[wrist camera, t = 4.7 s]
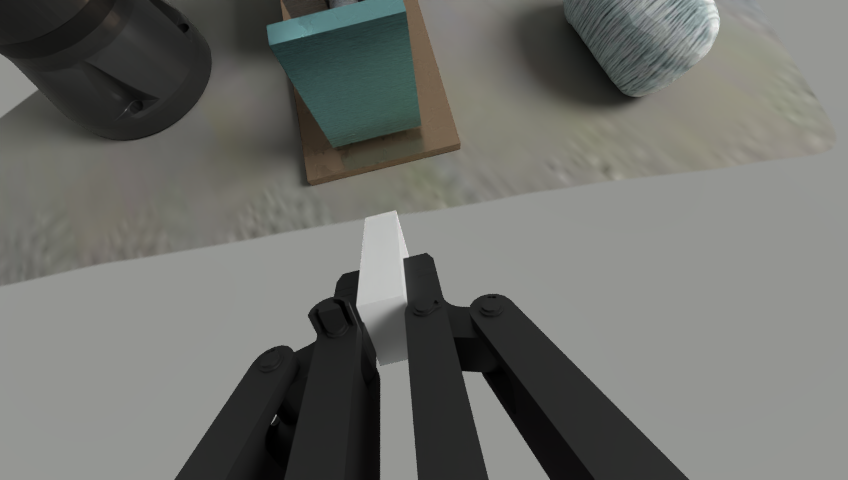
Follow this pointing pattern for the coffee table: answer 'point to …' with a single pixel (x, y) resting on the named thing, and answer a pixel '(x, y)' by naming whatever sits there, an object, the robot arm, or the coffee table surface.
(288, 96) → the coffee table surface
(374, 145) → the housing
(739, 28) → the coffee table surface
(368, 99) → the block
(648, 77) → the spool
